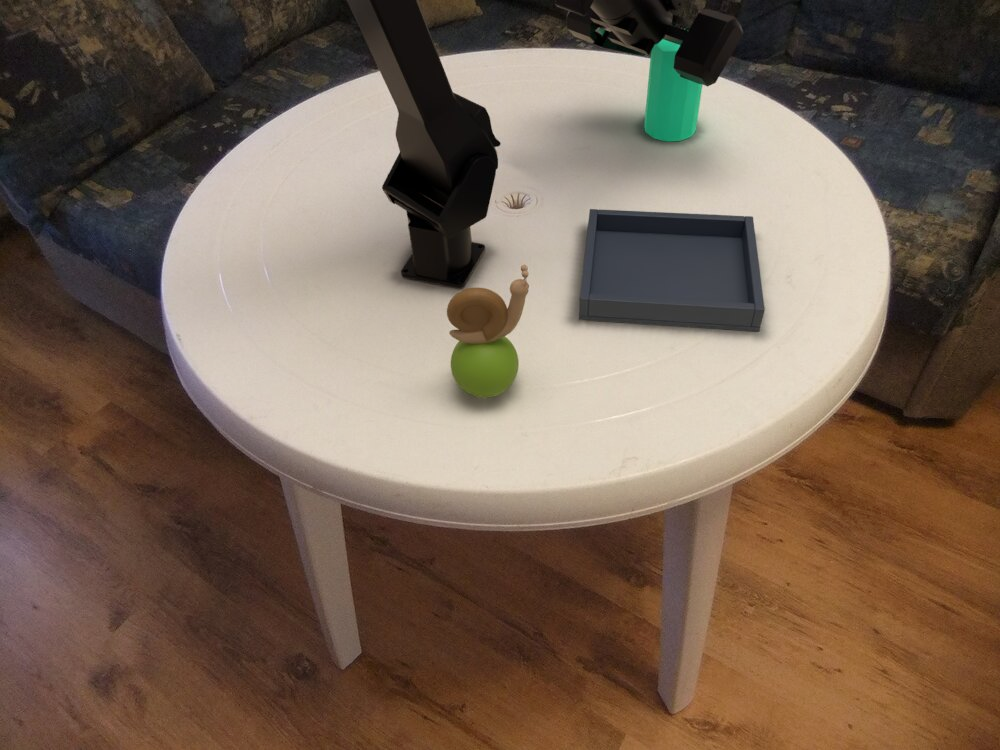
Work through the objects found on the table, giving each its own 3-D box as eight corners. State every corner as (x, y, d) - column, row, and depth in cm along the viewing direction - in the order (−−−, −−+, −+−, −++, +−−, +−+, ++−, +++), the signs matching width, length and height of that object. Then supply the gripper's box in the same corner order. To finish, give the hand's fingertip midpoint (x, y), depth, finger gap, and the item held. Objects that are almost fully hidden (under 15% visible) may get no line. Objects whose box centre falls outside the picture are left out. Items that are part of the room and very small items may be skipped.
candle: (664, 110, 96) (676, 8, 87) (706, 127, 93) (722, 23, 84) (633, 129, 93) (641, 26, 84) (675, 147, 90) (688, 42, 81)
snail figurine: (534, 407, 64) (532, 292, 55) (455, 414, 64) (440, 300, 55) (527, 359, 67) (524, 245, 59) (452, 366, 67) (438, 252, 59)
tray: (578, 320, 71) (579, 298, 69) (588, 229, 80) (589, 208, 78) (759, 331, 69) (765, 309, 67) (748, 237, 78) (753, 216, 76)
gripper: (749, -73, 68) (793, 17, 81) (587, -112, 78) (649, -26, 91) (682, 49, 70) (735, 117, 83) (532, -4, 80) (600, 64, 93)
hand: (678, 63), depth 88 cm, fingers open, 9 cm apart
